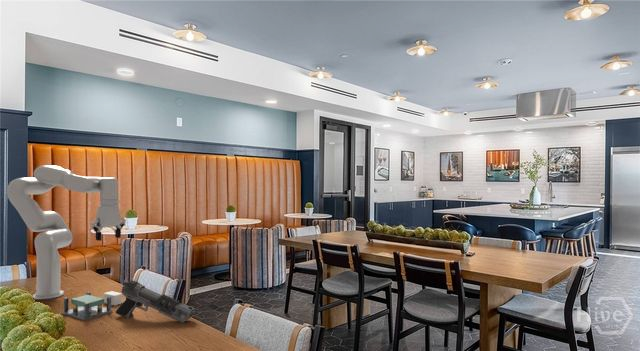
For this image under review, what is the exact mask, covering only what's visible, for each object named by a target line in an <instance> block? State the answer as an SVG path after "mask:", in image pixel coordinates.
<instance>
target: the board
mask: <svg viewBox="0 0 640 351" xmlns="http://www.w3.org/2000/svg"><path fill="white" fill-rule="evenodd" d="M85 303H89V308H90V307H94V306H97V305H101V304H102V305H104V304H105V303H104V299H103V297H98V296H95V295H86V294H85V295H80V296H77V297H73V298H71V299H70V304H72V305H73V304H75V305H78V307H80V306H82V307H84V304H85Z"/></svg>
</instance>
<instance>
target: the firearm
mask: <svg viewBox="0 0 640 351" xmlns="http://www.w3.org/2000/svg"><path fill="white" fill-rule="evenodd" d="M122 282H123V286H122V287H121V292H120V293H122V296H123V297H125V300H124V302H123V301H122V304H120V306H119V307H118V308H117V309H116V310H115V311H114V312H115V313H114V314H116V315H118V316H120V317H123V318H124V319H128V320H129V319H130V318H132V317H134V314H133V312H134V311H135V310H136V308H138V309H141V310H142V311H144V312H147V311H148V310H149V307H150V308H152V309H154V310H155V311H158V313H160V314H161V315H164V316H166V317H168V318H171V319H172V320H175V321H176V322H179V323H181V324H183V323H185V322H186V321H188V320H189V319H190V318H192V317H194V314H195V311H196V309H195V307H193V306H190V305H188V304H185V303H180V302H181V301H180V300H178V299H176V298H174V297H170V296H169V295H168V294H165V293H164V294H160V293H158V292H156V291H154V290H151V289H149V288H147V287H146V286H145V285H143V284H141V283H140V282H138V280H136V281H135V280H133V279H132V280H129V281H127V280H123V281H122Z"/></svg>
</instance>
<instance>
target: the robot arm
mask: <svg viewBox="0 0 640 351" xmlns="http://www.w3.org/2000/svg"><path fill="white" fill-rule="evenodd" d="M33 176H34V177H18V178H15V179H13V180H11V181H10V182H9V183H8V186H7V190H6V195H7V199H8V200H9V201H10V203H11V204H12V206H13V207H14V208H15V209H16V211H17V212H18V214H19V216H20V217H21V219H22V220H23V222H24V223H25V225H26V227H27V228H28V229H29V230H30V231H31V232H33V233H34V232H36V233H38V232H39V234H37V235H36V237H35V238H34V248H35V252H36V254H35V255H36V287H35V290H36V292H35V293H34V294H32V297H33V298H34V299H33V298H32V299H33V300H49V299H50V300H51V299H56V298H59V297H61V296H62V297H63V295H64V294H65V291H64V290H62V289H61V265H62V264H61V255H60V253H59V251H58V249H61V248H65V247H68V246H70V245H71V244H72V241H73V239H74V238H73V234H72V232H71V230H70V228H69V226H68V225H67V224H66V222H65V220H64V219H63V217H62V216H61V215H60V213H58V212H56V211H53V210H47V211H44V210H43V209H42V208H41V206H40V205H39V203H38V202H37V201H36V200H35V199H33V198H32V197H31V196H32V195H33V196H34V195H42V194H45V193H47V192H49V191H50V190H52V189H53V188H55V187H56V186H58V187H61V188H64V189H65V190H68V191H73V192H77V193H82V194H83V193H84V194H90V193H91V194H92V193H93V194H95V193H99V205H98V206H97V210H96V213H95V214H96V215H95V219H94V220H93V221H91V222H90V223H89V224H90V227H91V230H93V231H94V232H95V241H99V242H100V241H102V230H103V228H113V227H114V228H115V230H114V237H115V238H117V239H120V238H121V235H122V231H121V230H123V227H124V226H125V223H126V219H125V218H123V217H121V210H120V206H119V205H118V204H120V203H121V202H120V201H121V200H119V197H118V196H119V193H118V192H119V189H118V188H119V181H118V178H117V177H109V176H108V177H101V176H82V175H77V174H74V173H73V172H72V171H71V170H70V169H65V168H63V167H62V166H59V165H45V164H43V165H39V166H38V167H36V168H35V169H34V171H33ZM30 195H31V196H30Z"/></svg>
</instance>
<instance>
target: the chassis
mask: <svg viewBox="0 0 640 351" xmlns="http://www.w3.org/2000/svg"><path fill="white" fill-rule="evenodd" d="M91 294H92V292H91V291H88V292H86V294H85V295H91ZM91 296H92V295H91ZM69 299H70V298H69V297H64V298H63V311H62V312H61V315H64V316H68V317H72V318H75V319H78V320H81V321H88V320H92V319H94V318H98V317H101V316H104V314H105V315H108V314H111V313H113V311H114V310H113V309H112V305H111V297H107V304H106V307H104V306H103V304H101V305H97V306H94V307H90V308H89V303H85V304H84V307H82V306H78V305H75V304H72V308H71V309H69Z"/></svg>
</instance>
